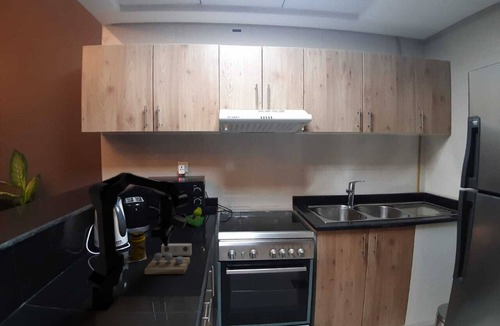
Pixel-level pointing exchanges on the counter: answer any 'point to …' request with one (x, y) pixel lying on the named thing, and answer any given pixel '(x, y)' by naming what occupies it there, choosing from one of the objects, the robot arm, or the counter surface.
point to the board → (167, 267)
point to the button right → (179, 260)
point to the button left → (158, 257)
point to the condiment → (137, 247)
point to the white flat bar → (177, 249)
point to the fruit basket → (196, 218)
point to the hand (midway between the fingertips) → (166, 246)
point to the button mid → (168, 257)
